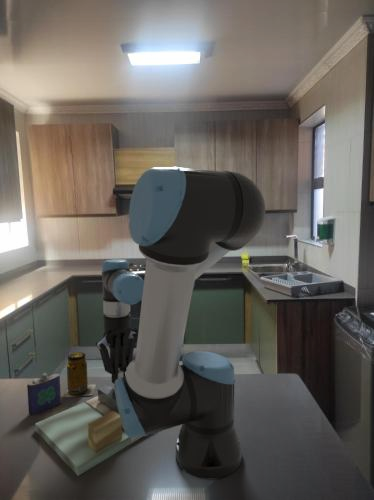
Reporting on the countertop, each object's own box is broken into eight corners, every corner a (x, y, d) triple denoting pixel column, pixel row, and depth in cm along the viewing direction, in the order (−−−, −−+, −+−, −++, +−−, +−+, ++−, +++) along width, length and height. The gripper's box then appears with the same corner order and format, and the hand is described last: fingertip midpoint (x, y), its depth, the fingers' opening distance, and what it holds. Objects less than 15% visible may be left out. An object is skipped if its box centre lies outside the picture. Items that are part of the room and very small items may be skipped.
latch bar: (140, 416, 87) (140, 401, 86) (128, 423, 84) (127, 408, 84) (108, 395, 97) (108, 382, 97) (96, 401, 94) (96, 387, 94)
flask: (58, 400, 99) (57, 366, 98) (63, 404, 97) (62, 369, 96) (27, 414, 92) (25, 377, 91) (31, 418, 90) (29, 381, 89)
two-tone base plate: (162, 424, 87) (161, 397, 86) (77, 476, 70) (76, 442, 69) (114, 394, 102) (113, 371, 102) (35, 430, 85) (34, 403, 84)
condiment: (69, 386, 108) (68, 350, 107) (96, 384, 109) (95, 349, 108) (63, 397, 101) (62, 360, 100) (92, 396, 102) (90, 358, 101)
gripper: (127, 306, 101) (129, 380, 103) (89, 315, 92) (92, 396, 94) (143, 311, 96) (144, 389, 98) (104, 321, 87) (106, 406, 89)
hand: (118, 392), depth 96 cm, fingers closed
